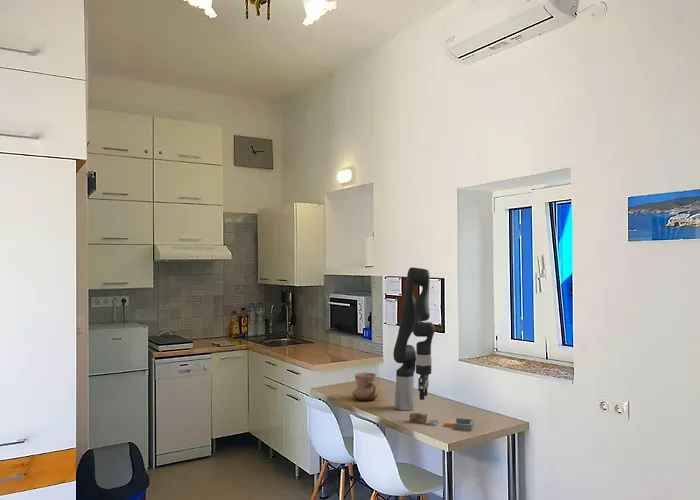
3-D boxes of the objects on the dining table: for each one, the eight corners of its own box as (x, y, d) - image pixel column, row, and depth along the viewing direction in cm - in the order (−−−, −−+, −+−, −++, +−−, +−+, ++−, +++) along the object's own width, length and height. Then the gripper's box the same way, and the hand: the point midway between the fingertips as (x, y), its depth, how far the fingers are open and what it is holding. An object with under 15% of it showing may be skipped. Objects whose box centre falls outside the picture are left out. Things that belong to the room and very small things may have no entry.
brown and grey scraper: (408, 423, 261) (408, 414, 261) (411, 419, 267) (411, 411, 268) (435, 426, 257) (435, 417, 257) (438, 422, 263) (438, 414, 264)
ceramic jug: (346, 397, 312) (346, 372, 313) (367, 395, 320) (367, 370, 321) (363, 404, 297) (363, 378, 298) (385, 401, 305) (385, 375, 305)
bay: (453, 429, 252) (453, 423, 252) (456, 422, 263) (456, 417, 263) (471, 430, 250) (471, 425, 250) (473, 424, 260) (473, 419, 260)
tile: (444, 427, 257) (444, 422, 257) (446, 424, 261) (446, 420, 261) (455, 428, 255) (455, 424, 255) (456, 425, 260) (456, 421, 260)
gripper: (418, 361, 272) (418, 394, 271) (413, 365, 258) (412, 400, 257) (433, 362, 269) (433, 395, 268) (428, 366, 256) (428, 401, 255)
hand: (423, 397), depth 263 cm, fingers open, 8 cm apart
